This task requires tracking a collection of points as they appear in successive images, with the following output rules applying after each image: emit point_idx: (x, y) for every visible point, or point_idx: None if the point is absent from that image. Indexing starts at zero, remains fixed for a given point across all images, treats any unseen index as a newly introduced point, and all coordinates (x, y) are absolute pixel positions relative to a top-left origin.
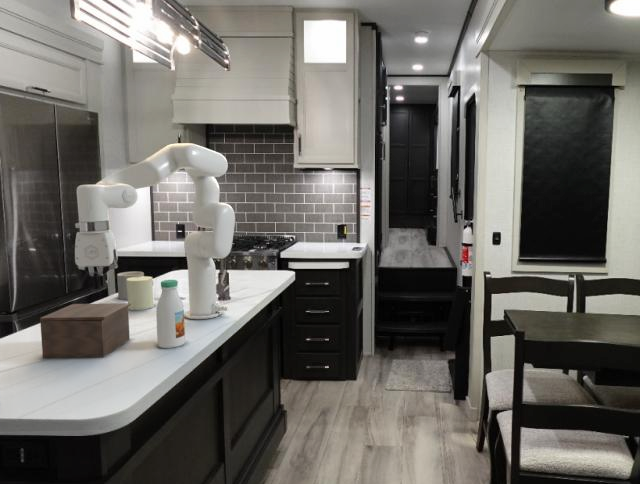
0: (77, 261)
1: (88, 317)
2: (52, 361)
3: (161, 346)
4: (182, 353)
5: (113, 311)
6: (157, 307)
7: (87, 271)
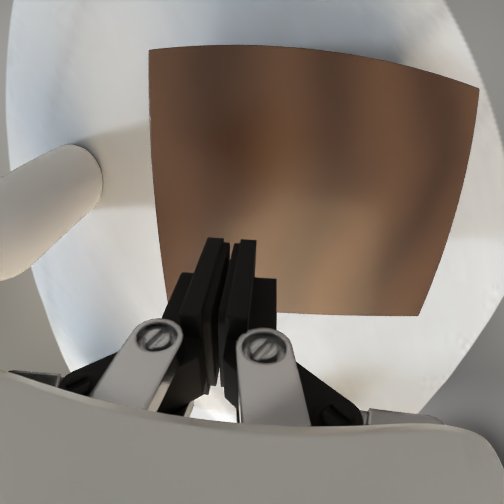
0: (485, 488)
1: (235, 45)
2: (362, 41)
3: (80, 147)
4: (25, 112)
5: (157, 158)
6: (12, 206)
7: (330, 390)
